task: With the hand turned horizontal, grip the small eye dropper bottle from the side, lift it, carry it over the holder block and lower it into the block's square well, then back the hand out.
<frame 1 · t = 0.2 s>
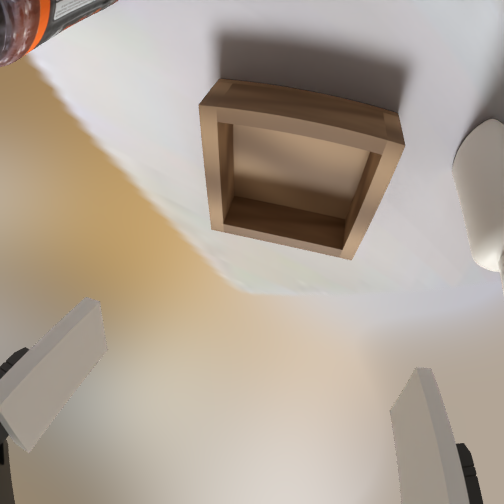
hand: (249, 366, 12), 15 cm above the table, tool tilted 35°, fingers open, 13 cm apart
eye dropper bottle: (480, 149, 16), on the table
holder: (298, 159, 21), on the table
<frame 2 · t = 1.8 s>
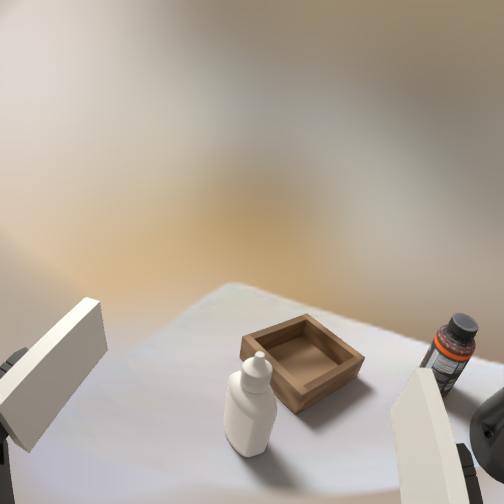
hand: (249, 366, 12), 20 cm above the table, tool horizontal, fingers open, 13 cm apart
eye dropper bottle: (243, 437, 28), on the table
holder: (299, 368, 39), on the table
supplement bottle: (429, 387, 36), on the table
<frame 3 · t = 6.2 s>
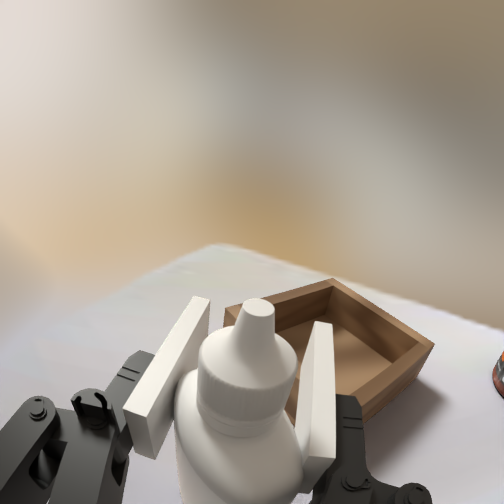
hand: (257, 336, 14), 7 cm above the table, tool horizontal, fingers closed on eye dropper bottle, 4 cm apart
eye dropper bottle: (218, 503, 12), on the table, touching gripper
holder: (324, 366, 22), on the table
when the fingers open (9 cm above the table, at t = 10.4 s): eye dropper bottle drops 1 cm, resting on holder.
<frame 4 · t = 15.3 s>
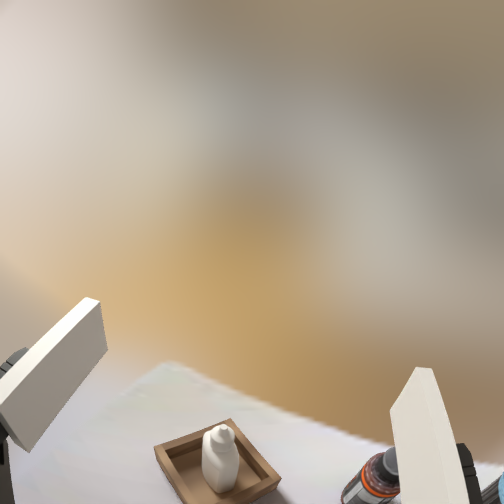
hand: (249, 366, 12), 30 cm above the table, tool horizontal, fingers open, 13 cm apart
eye dropper bottle: (217, 476, 32), resting on holder
holder: (214, 476, 32), on the table
supplement bottle: (359, 500, 29), on the table
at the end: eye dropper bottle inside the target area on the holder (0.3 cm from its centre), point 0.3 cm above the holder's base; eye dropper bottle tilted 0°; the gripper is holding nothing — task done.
